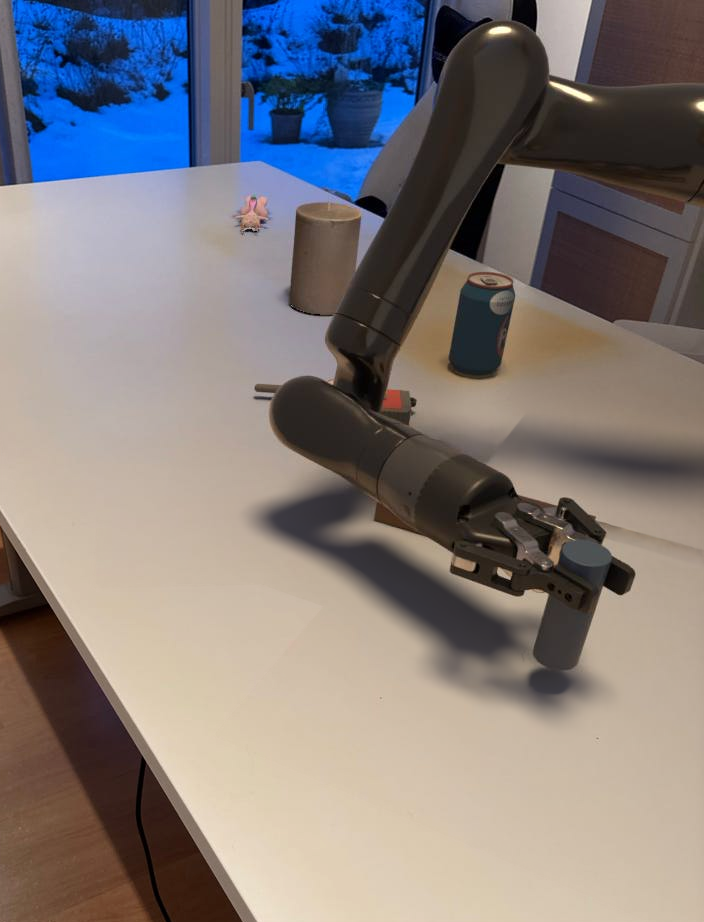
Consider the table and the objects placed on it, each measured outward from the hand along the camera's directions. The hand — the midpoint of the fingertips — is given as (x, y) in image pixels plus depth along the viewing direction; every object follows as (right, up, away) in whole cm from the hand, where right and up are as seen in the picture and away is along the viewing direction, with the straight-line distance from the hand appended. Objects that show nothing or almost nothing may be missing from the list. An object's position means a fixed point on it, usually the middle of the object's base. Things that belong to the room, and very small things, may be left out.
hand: (611, 592), depth 70 cm
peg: (-2, -5, +7) cm, 8 cm away
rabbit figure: (-23, +75, +111) cm, 136 cm away
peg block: (-3, +8, +26) cm, 27 cm away
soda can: (+5, +33, +59) cm, 68 cm away
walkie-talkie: (-15, +24, +47) cm, 55 cm away
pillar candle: (-14, +48, +77) cm, 92 cm away
